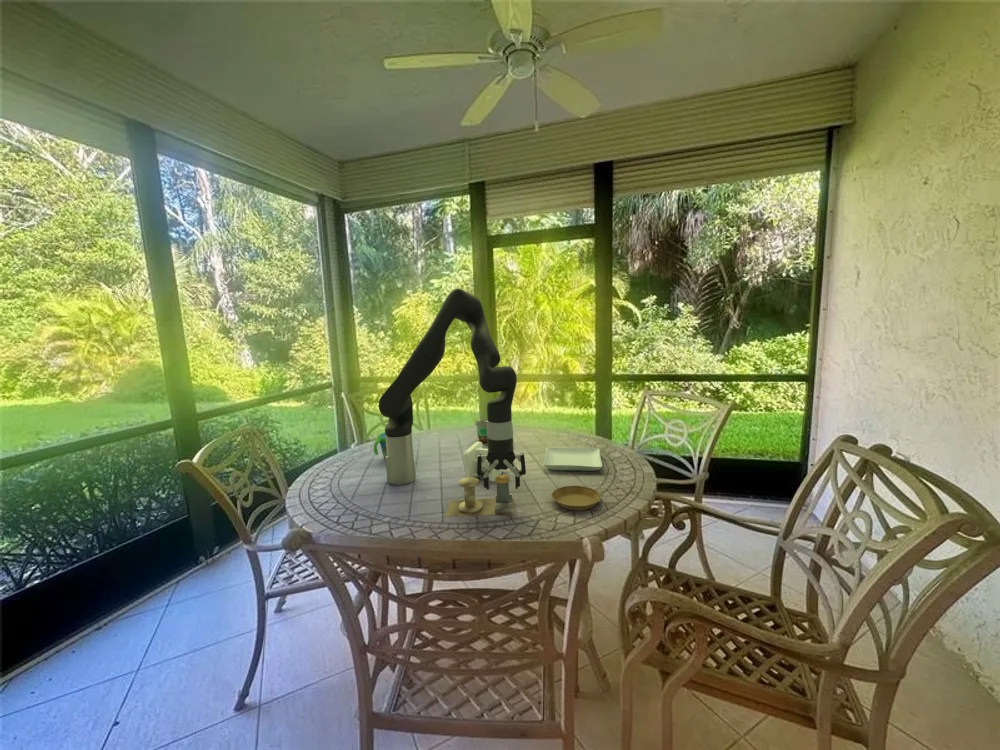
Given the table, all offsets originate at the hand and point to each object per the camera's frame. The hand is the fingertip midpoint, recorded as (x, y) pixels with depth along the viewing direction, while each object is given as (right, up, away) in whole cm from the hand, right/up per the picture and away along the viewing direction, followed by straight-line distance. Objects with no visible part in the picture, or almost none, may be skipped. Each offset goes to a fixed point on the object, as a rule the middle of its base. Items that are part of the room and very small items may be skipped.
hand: (502, 488), depth 128 cm
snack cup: (-45, -1, +54) cm, 70 cm away
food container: (-6, +3, +70) cm, 70 cm away
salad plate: (+27, -1, +38) cm, 47 cm away
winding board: (-6, -7, +2) cm, 10 cm away
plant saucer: (+23, -6, +5) cm, 24 cm away
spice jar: (0, -6, +1) cm, 6 cm away
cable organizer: (-6, -4, +28) cm, 29 cm away
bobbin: (-9, -6, +1) cm, 11 cm away
